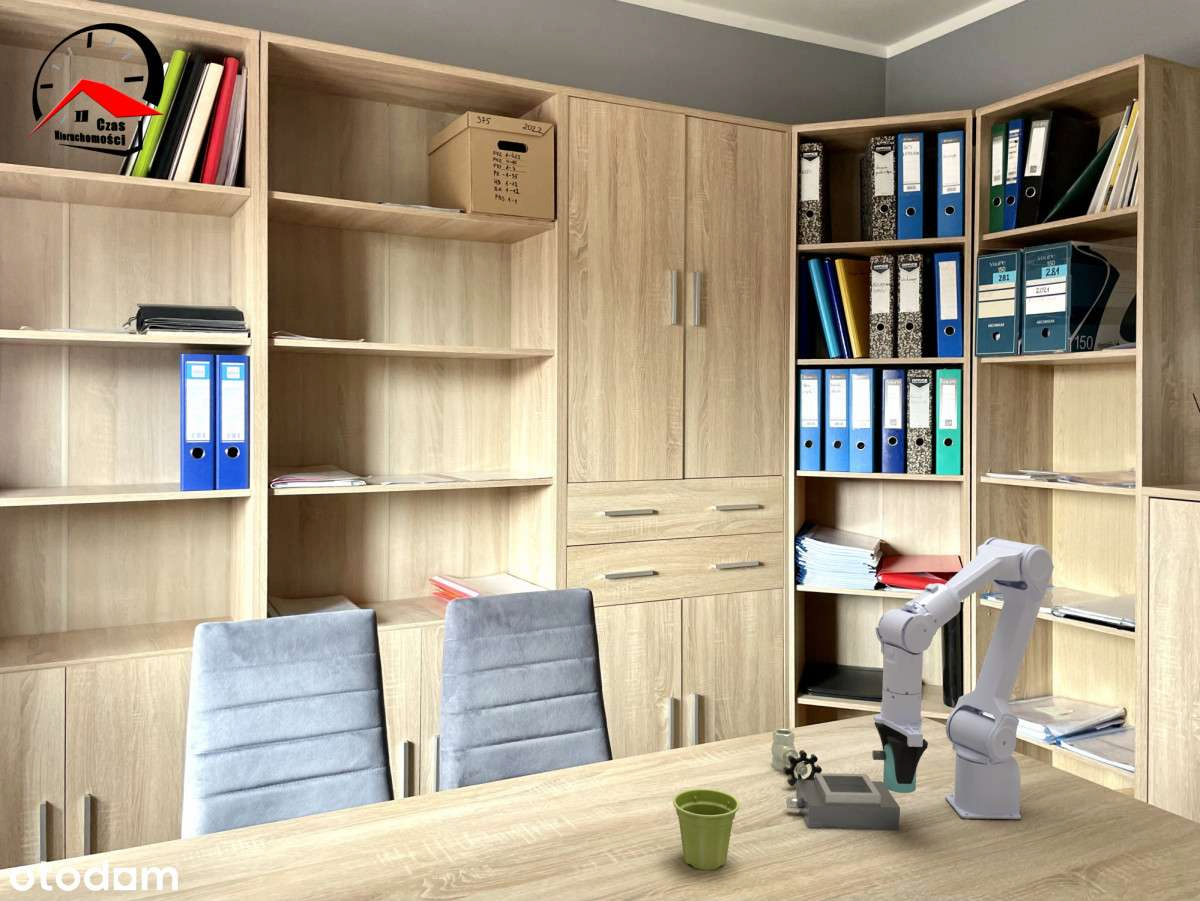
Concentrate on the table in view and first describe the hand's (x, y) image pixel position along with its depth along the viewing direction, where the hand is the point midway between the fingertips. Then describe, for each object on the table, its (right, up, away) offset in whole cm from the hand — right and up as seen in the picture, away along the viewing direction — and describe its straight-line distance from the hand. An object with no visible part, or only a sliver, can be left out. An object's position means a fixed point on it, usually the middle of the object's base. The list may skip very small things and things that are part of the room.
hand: (898, 776), depth 150 cm
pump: (0, -2, 0) cm, 2 cm away
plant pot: (-31, -9, -10) cm, 34 cm away
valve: (-13, -7, +21) cm, 26 cm away
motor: (-8, -8, +6) cm, 13 cm away
